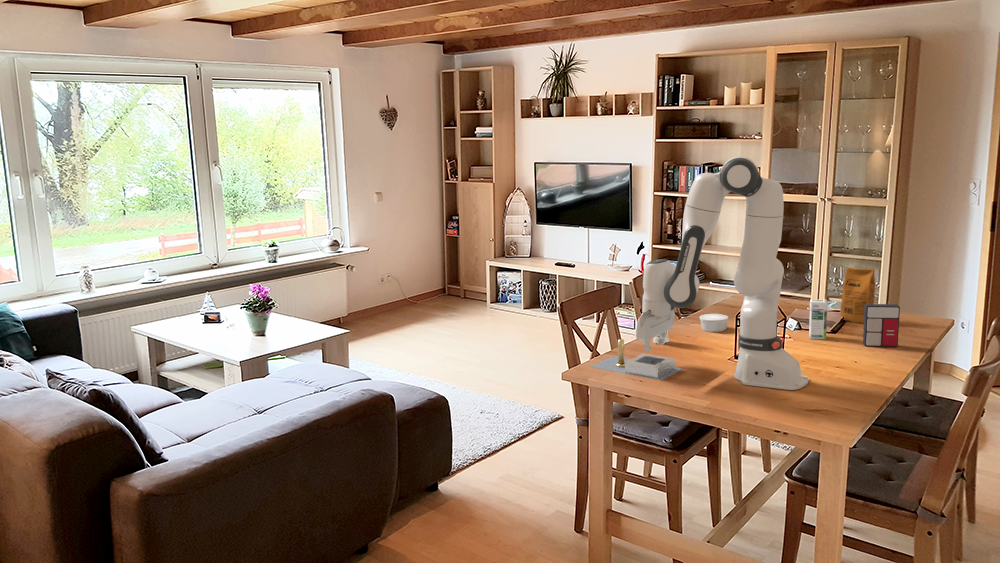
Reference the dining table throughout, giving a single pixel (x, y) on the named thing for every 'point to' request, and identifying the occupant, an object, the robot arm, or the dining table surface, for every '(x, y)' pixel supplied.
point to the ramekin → (714, 322)
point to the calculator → (881, 325)
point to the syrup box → (818, 319)
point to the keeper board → (610, 366)
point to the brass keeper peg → (620, 354)
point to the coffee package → (857, 293)
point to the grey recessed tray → (650, 365)
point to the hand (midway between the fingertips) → (654, 347)
